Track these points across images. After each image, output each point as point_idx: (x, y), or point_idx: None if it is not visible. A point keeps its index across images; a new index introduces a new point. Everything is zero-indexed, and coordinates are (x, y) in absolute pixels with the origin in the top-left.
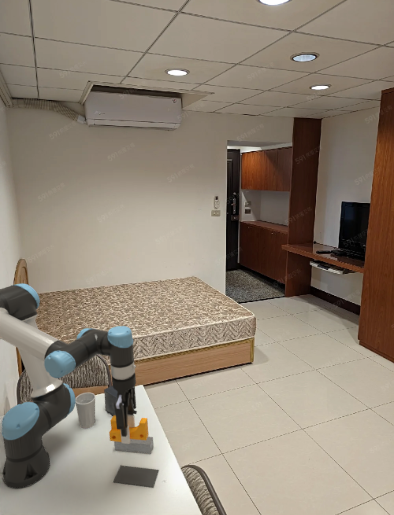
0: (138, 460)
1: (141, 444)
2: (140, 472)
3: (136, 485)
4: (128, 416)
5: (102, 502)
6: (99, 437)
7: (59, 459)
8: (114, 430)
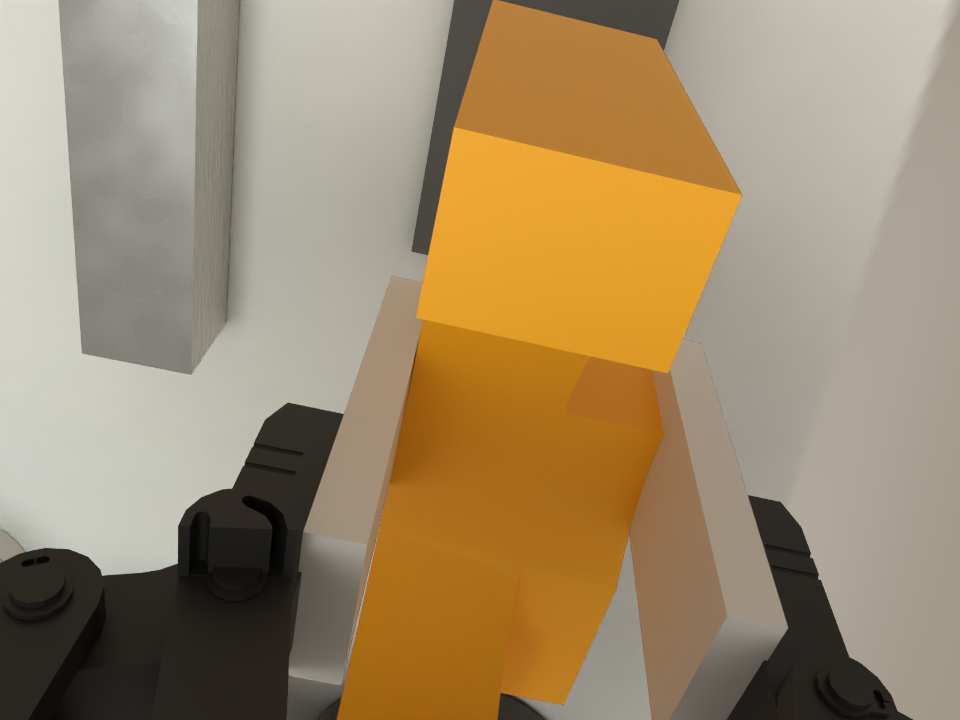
0: (339, 82)
1: (199, 80)
2: None
3: None
4: (353, 626)
5: (772, 333)
6: (100, 457)
7: None
8: (525, 650)
